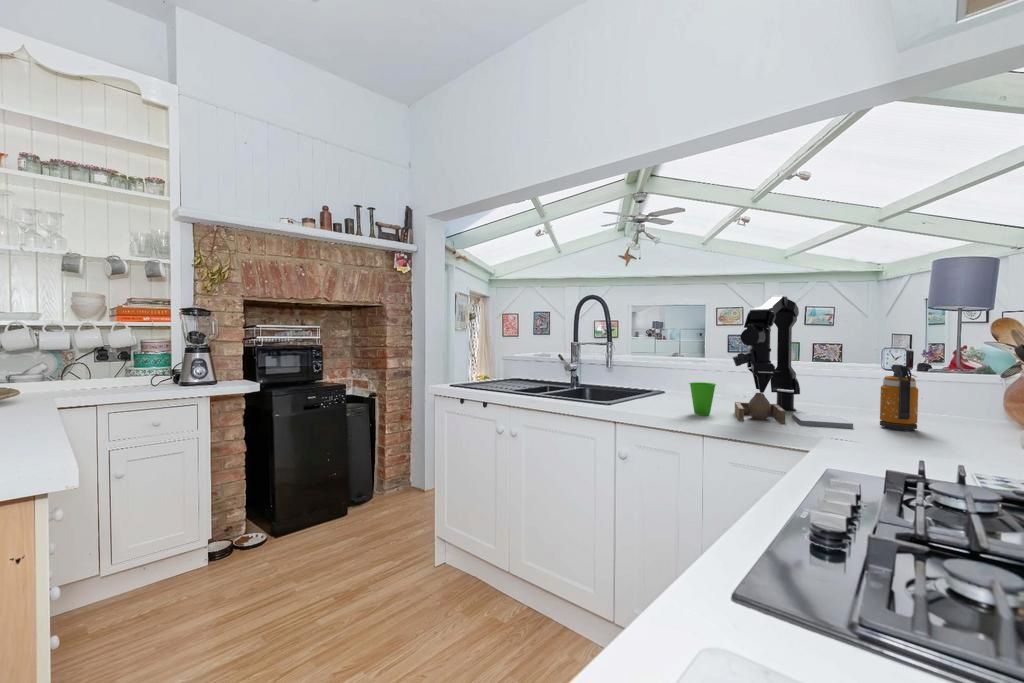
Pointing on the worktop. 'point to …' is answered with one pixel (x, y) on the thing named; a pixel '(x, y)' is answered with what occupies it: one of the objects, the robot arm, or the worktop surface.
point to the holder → (776, 412)
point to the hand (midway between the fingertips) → (759, 390)
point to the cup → (702, 397)
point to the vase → (759, 407)
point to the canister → (899, 400)
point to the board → (821, 420)
